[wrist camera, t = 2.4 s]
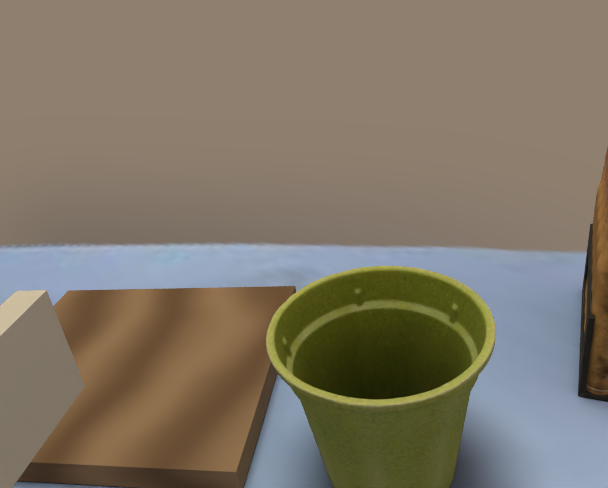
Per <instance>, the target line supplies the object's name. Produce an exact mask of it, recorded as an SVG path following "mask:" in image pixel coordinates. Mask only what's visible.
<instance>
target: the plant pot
mask: <svg viewBox="0 0 608 488" xmlns="http://www.w3.org/2000/svg"><path fill="white" fill-rule="evenodd" d="M495 336H496V327H495V322H494V318H493V316H492V314H491V311H490V309H489V308H488V306H487V305H486V303H485V302H484V301H483V300H482V298H481V297H480V296H479V295H477V294H476V293H475V292H474V291H473V290H471V289H470V288H469V287H467V286H466V285H464V284H462V283H460V282H458V281H457V280H455V279H453V278H451V277H448V276H445V275H442V274H439V273H436V272H431V271H428V270H424V269H418V268H410V267H400V266H375V267H363V268H357V269H352V270H348V271H344V272H341V273H337V274H333V275H330V276H326V277H324V278H321V279H319V280H317V281H315V282H313V283H310V284H309V285H307V286H305V287H304V288H303V289H301V290H299V291H297V292H296V293H294V294H293V295H292V296H290V297H289V298H288V299H287V301H286V302H285V303H283V304H282V305H281V306H280V307H279V308H278V310H277V311H276V313H275V314H274V315H273V317H272V320H271V322H270V324H269V327H268V330H267V336H266V347H267V352H268V356H269V359H270V361H271V363H272V365H273V367H274V369H275V370H276V372H277V373H278V374H279V376H280V377H281V378H282V379H283V380H284V381H285V382H286V383H287V384H288V385H289V386H291V388H292V390H293V391H294V393H295V394H296V395H297V397H298V398H299V399H300V400H301V403H302V406H303V408H304V411H305V414H306V416H307V419H308V422H309V424H310V427H311V430H312V432H313V435H314V438H315V440H316V443H317V446H318V448H319V451H320V454H321V457H322V460H323V462H324V465H325V468H326V470H327V473H328V476H329V478H330V480H331V483H332V485H333V487H334V488H450V486H451V483H452V481H453V478H454V473H455V467H456V462H457V457H458V452H459V446H460V441H461V436H462V431H463V426H464V421H465V416H466V411H467V406H468V401H469V396H470V391H471V389H472V388H473V386H474V384H475V382H476V380H477V378H478V375H479V373H480V372H481V371H482V370H483V369H484V367H485V366H486V364H487V363H488V361H489V359H490V357H491V355H492V352H493V349H494V345H495Z"/></svg>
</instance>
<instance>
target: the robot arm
mask: <svg viewBox="0 0 608 488" xmlns="http://www.w3.org/2000/svg"><path fill="white" fill-rule="evenodd" d="M84 387H85V385H84V382H83V380H82V377H81V375H80V372H79V370H78V367H77V365H76V362H75V360H74V357H73V355H72V352H71V350H70V347H69V345H68V342H67V340H66V337H65V335H64V332H63V330H62V327H61V325H60V322H59V320H58V317H57V315H56V312H55V310H54V307H53V305H52V303H51V300H50V298H49V295H48V293H47V290H38V291H16V292H15V293H14V294H13V295H11V296H10V297H9V298H8V299H7V300H6V301H5V302H4V303H3V304H2V305H1V306H0V488H12V487H13V486H14V484H15V483H16V482H17V480H18V479H19V477H20V476H21V475H22V473H23V472H24V471H25V469H26V468H27V466H28V465H29V464H30V462H31V461H32V459H33V458H34V457H35V455H36V454H37V452H38V451H39V450H40V448H41V447H42V445H43V444H44V443H45V441H46V440H47V438H48V437H49V436H50V434H51V433H52V431H53V430H54V429H55V427H56V426H57V424H58V423H59V422H60V420H61V419H62V417H63V416H64V415H65V413H66V412H67V410H68V409H69V408H70V406H71V405H72V403H73V402H74V401H75V399H76V398H77V397H78V395H79V394H80V392H81V391H82V390H83V388H84Z"/></svg>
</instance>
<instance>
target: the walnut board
mask: <svg viewBox="0 0 608 488" xmlns="http://www.w3.org/2000/svg"><path fill="white" fill-rule="evenodd" d="M294 293H296V289H295V286H279V287H229V288H179V289H128V290H78V291H67V292H66V293H65V295H64V296H63V297H62V298H61V299H60V300H59V301H58V302H57V303H56V304H55V305H54V306H53V307H54V310H55V312H56V315H57V317H58V320H59V322H60V325H61V327H62V330H63V332H64V335H65V337H66V340H67V342H68V345H69V347H70V350H71V352H72V355H73V357H74V360H75V362H76V365H77V367H78V370H79V372H80V375H81V377H82V380H83V382H84V385H85V387H84V388H83V390H82V391H81V392H80V394H79V395H78V397H77V398H76V399H75V401H74V402H73V403H72V405H71V406H70V408H69V409H68V410H67V412H66V413H65V415H64V416H63V417H62V419H61V420H60V422H59V423H58V424H57V426H56V427H55V429H54V430H53V431H52V433H51V434H50V436H49V437H48V438H47V440H46V441H45V443H44V444H43V445H42V447H41V448H40V450H39V451H38V452H37V454H36V455H35V457H34V458H33V459H32V461H31V462H30V464H29V465H28V466H27V468H26V469H25V471H24V472H23V473H22V475H21V476H20V477H19V479H18V480H17V481H28V482H46V483H63V484H81V485H99V486H117V487H135V488H243V487H244V484H245V481H246V477H247V474H248V471H249V467H250V464H251V460H252V457H253V454H254V450H255V447H256V444H257V440H258V437H259V433H260V430H261V427H262V423H263V420H264V416H265V413H266V410H267V406H268V403H269V400H270V396H271V393H272V389H273V386H274V383H275V379H276V376H277V372H276V370H275V369H274V367H273V365H272V363H271V361H270V359H269V356H268V352H267V347H266V336H267V330H268V327H269V324H270V322H271V320H272V317H273V315H274V314H275V313H276V311H277V310H278V308H279V307H280V306H281V305H282V304H283V303H285V302H286V301H287V299H288V298H289V297H290V296H292V295H293V294H294Z"/></svg>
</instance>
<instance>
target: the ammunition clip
mask: <svg viewBox="0 0 608 488" xmlns="http://www.w3.org/2000/svg"><path fill="white" fill-rule="evenodd" d="M578 396H583V397H588V398H594V399H599V400H605V401H608V148H607V153H606V158H605V165H604V167H603V173H602V179H601V181H600V184H599V187H598V190H597V196H596V204H595V212H594V220H593V224H591V225H590V232H589V240H588V249H587V257H586V265H585V273H584V281H583V290H582V313H581V337H580V361H579V385H578Z"/></svg>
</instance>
